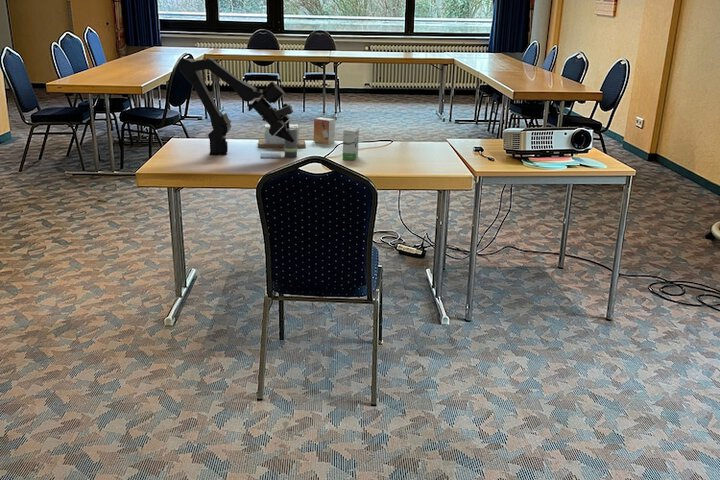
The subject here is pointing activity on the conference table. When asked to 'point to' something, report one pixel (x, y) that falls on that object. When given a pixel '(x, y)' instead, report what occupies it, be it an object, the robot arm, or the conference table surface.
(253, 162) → the conference table surface
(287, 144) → the cartridge
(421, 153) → the conference table surface
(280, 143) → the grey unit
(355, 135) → the ink box
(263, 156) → the slate mat
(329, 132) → the small box
